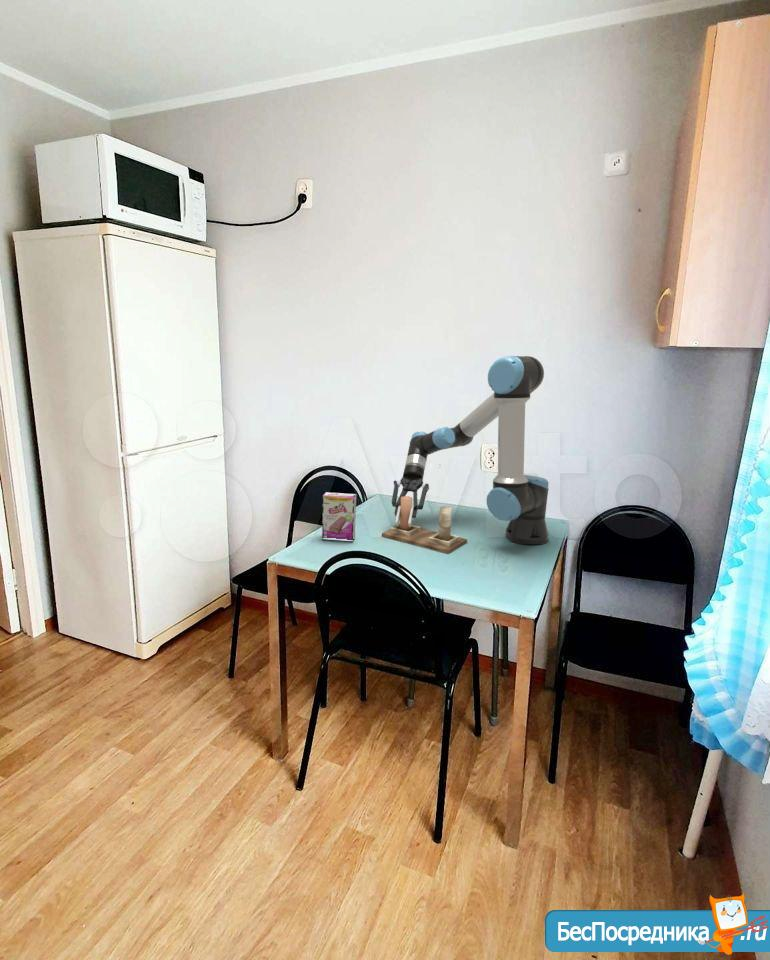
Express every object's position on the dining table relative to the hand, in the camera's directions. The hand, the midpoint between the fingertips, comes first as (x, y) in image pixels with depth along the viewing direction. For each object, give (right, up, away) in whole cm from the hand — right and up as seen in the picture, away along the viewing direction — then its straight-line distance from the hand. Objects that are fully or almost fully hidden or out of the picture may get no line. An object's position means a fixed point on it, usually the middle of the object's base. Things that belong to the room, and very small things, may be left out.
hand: (403, 524), depth 199 cm
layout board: (+7, -5, 0) cm, 9 cm away
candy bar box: (-23, -5, -2) cm, 23 cm away
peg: (+1, -2, +4) cm, 5 cm away
